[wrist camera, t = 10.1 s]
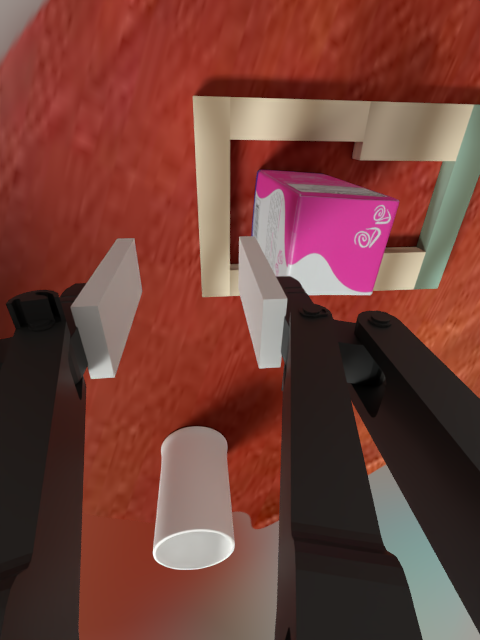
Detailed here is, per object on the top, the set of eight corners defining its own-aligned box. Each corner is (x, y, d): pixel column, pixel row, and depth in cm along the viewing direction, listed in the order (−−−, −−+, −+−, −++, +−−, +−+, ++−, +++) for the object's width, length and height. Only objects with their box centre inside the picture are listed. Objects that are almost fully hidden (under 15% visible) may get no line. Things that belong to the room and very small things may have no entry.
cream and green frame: (202, 289, 30) (202, 297, 29) (193, 97, 23) (192, 95, 21) (428, 282, 33) (437, 288, 32) (489, 106, 25) (505, 105, 24)
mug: (184, 487, 46) (181, 589, 36) (133, 466, 43) (113, 574, 32) (240, 442, 43) (254, 542, 32) (189, 415, 39) (187, 518, 29)
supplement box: (314, 241, 29) (372, 299, 20) (250, 239, 29) (278, 298, 19) (327, 172, 26) (404, 200, 17) (256, 167, 26) (293, 193, 16)
